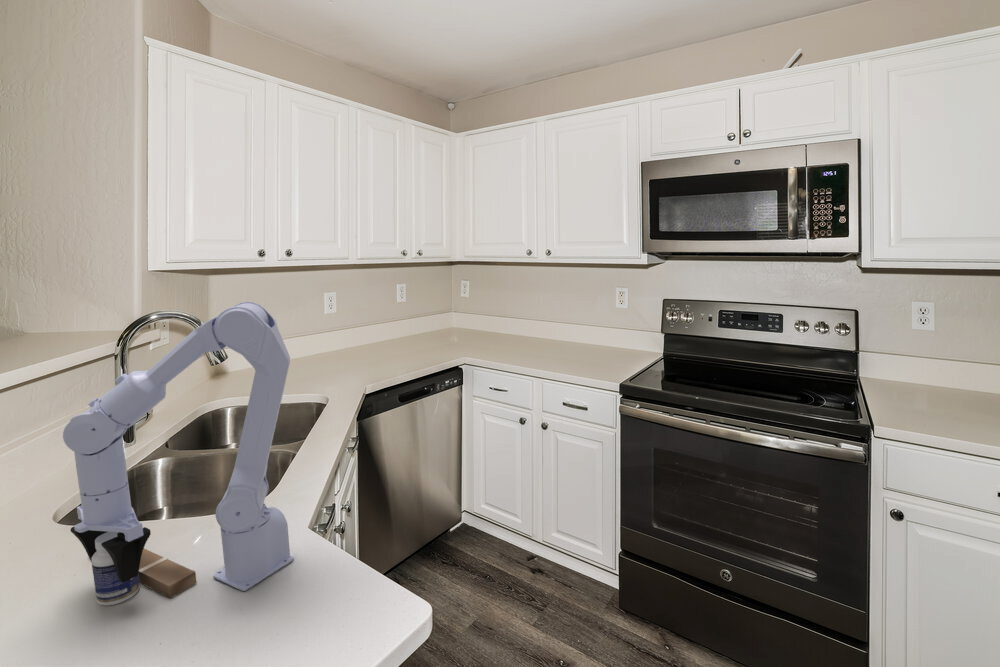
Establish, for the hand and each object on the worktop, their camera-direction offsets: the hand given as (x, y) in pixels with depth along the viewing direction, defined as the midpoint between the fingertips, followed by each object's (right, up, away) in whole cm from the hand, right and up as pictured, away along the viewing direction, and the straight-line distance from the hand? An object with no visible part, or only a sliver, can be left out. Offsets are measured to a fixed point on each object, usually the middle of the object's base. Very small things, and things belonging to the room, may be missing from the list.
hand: (115, 571), depth 77 cm
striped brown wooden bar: (-1, -3, +7) cm, 8 cm away
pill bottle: (0, -4, +1) cm, 4 cm away
